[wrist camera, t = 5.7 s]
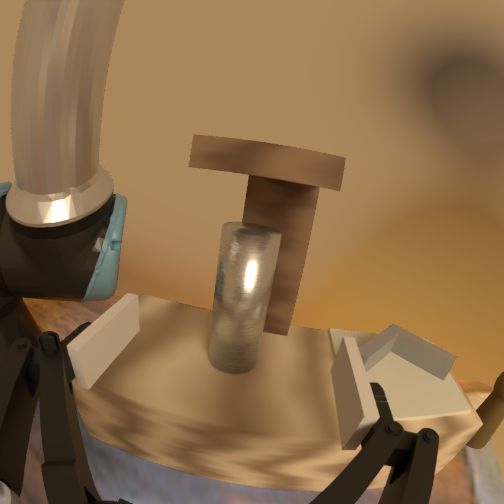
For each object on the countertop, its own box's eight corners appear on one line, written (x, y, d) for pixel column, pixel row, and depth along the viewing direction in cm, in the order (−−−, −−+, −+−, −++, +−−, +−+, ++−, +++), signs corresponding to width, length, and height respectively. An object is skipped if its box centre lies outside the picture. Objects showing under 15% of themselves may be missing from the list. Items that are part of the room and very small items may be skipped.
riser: (89, 434, 20) (63, 368, 17) (145, 355, 36) (142, 293, 33) (431, 478, 18) (483, 424, 15) (401, 395, 33) (430, 341, 30)
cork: (453, 435, 23) (497, 375, 20) (467, 416, 26) (504, 359, 23) (480, 454, 18) (528, 395, 15) (491, 433, 21) (532, 376, 18)
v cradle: (346, 420, 18) (360, 396, 17) (328, 330, 31) (335, 309, 30) (469, 412, 17) (485, 390, 16) (424, 340, 30) (432, 321, 29)
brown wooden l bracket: (176, 375, 21) (193, 134, 15) (211, 309, 32) (231, 149, 27) (285, 398, 20) (345, 157, 15) (287, 324, 31) (320, 164, 26)
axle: (198, 356, 24) (210, 224, 20) (229, 338, 27) (247, 220, 24) (235, 381, 21) (259, 240, 18) (265, 359, 25) (292, 233, 21)
